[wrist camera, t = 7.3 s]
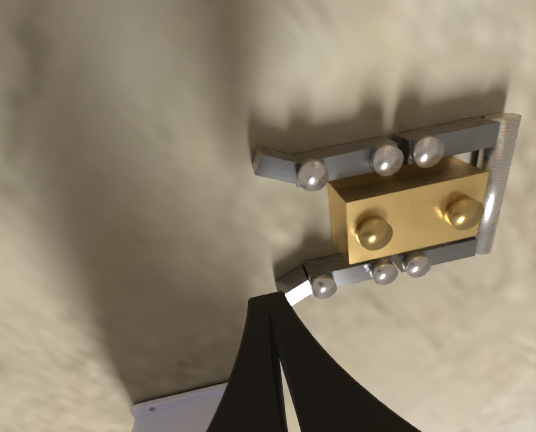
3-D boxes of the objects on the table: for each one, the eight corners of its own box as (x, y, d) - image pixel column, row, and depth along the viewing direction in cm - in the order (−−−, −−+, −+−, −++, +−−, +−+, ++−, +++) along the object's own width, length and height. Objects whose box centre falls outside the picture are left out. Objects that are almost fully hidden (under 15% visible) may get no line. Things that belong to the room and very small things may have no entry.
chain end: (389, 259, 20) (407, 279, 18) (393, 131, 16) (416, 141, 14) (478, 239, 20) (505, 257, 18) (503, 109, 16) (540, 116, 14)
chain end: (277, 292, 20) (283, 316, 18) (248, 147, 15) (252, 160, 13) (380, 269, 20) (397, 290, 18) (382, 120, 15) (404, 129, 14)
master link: (330, 234, 18) (353, 271, 15) (326, 180, 17) (351, 208, 14) (440, 210, 19) (485, 241, 16) (447, 154, 17) (498, 176, 14)
